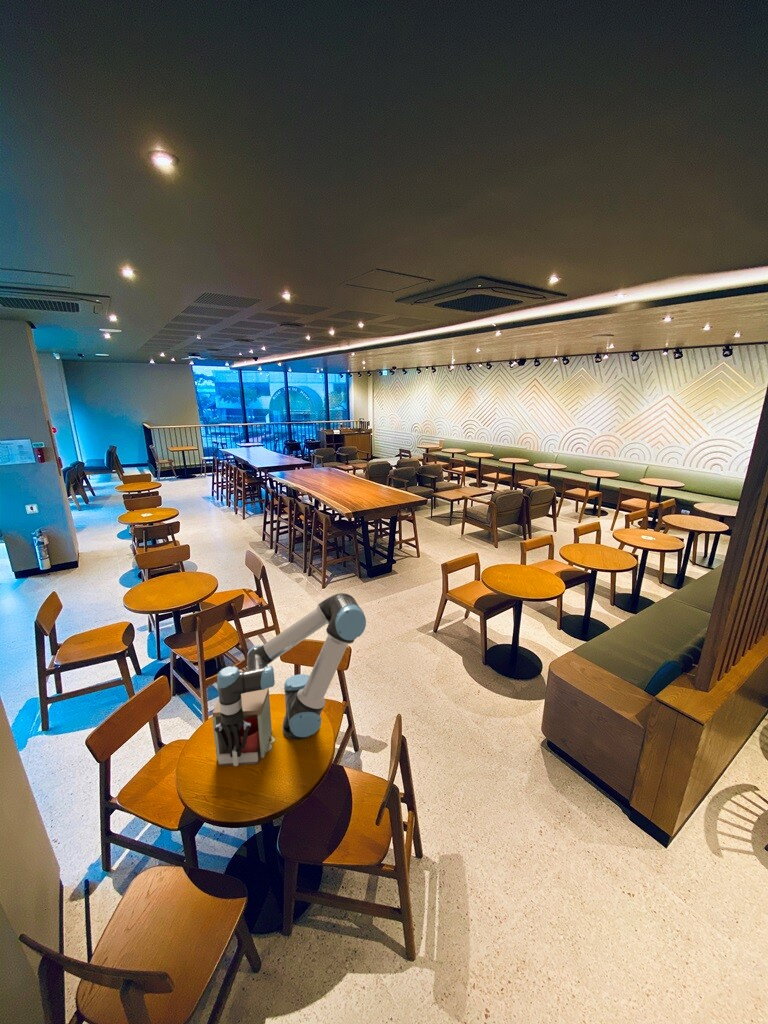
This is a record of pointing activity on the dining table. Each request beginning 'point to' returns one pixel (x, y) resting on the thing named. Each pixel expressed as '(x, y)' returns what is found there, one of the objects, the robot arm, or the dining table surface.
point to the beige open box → (252, 707)
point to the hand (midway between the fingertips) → (236, 763)
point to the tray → (244, 758)
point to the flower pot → (251, 736)
